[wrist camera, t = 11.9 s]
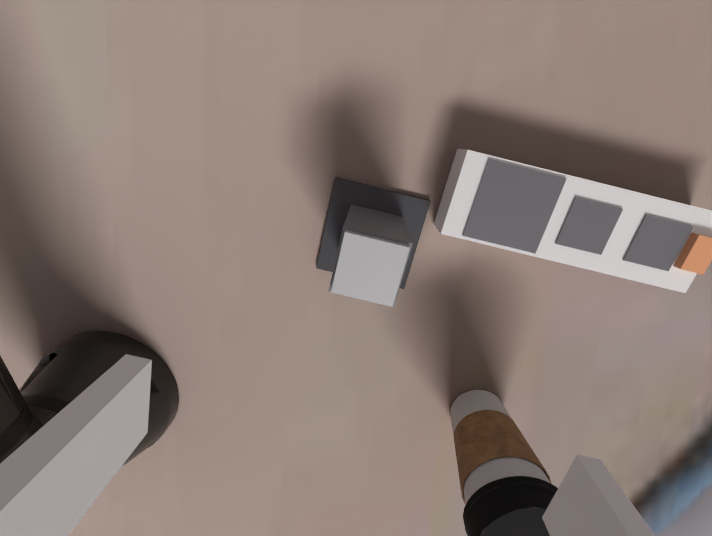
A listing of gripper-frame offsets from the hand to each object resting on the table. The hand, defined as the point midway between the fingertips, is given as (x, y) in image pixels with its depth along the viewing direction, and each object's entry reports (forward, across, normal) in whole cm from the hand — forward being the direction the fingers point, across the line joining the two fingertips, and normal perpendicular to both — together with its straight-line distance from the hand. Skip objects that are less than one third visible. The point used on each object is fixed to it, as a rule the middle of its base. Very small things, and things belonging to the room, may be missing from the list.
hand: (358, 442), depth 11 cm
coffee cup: (+26, -17, +17) cm, 35 cm away
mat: (+26, 0, 0) cm, 26 cm away
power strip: (+26, -20, -6) cm, 34 cm away
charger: (+26, 0, 0) cm, 26 cm away
